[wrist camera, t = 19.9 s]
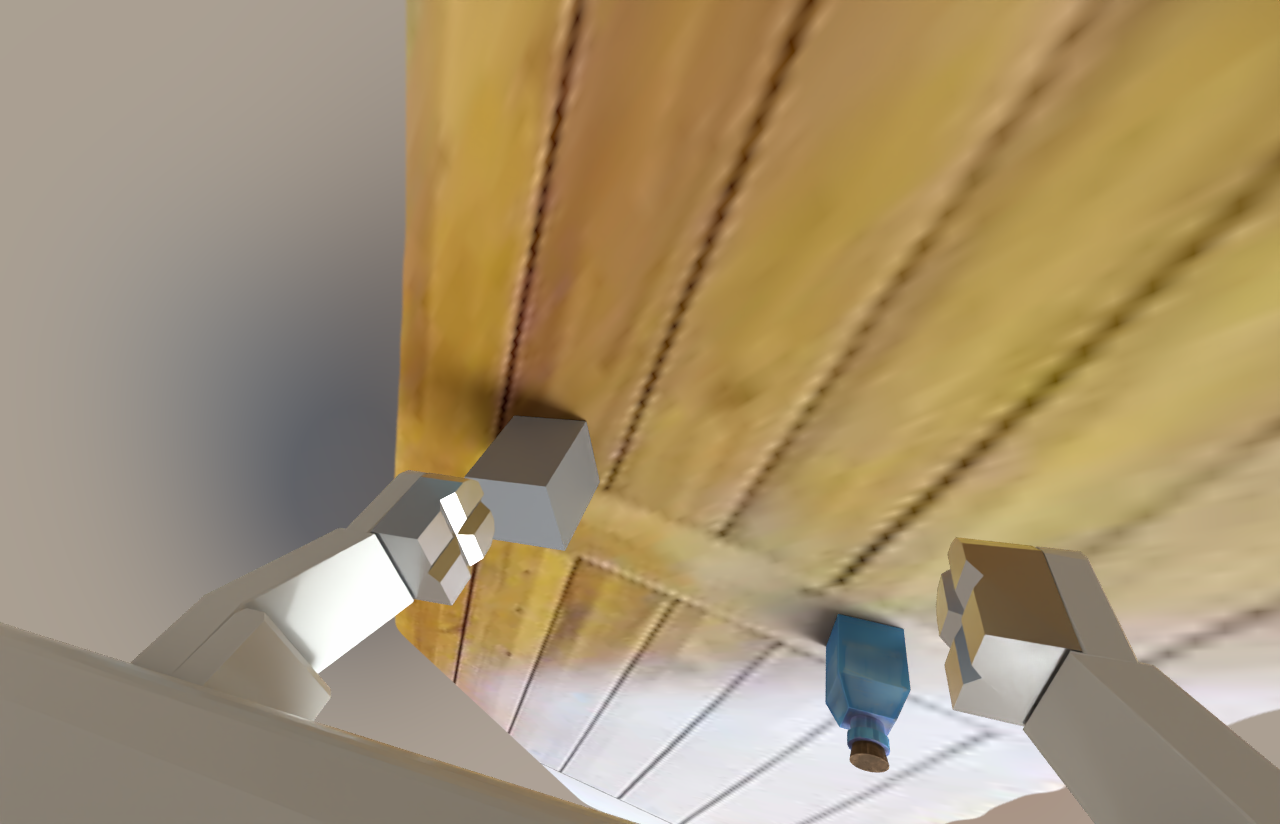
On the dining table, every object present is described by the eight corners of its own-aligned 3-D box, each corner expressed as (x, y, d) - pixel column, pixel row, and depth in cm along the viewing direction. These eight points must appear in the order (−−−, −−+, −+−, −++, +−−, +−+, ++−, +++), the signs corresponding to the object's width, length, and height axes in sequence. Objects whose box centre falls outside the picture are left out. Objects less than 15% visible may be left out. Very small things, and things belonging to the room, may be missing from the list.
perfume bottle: (838, 613, 54) (839, 736, 44) (903, 628, 52) (918, 759, 43) (826, 646, 57) (824, 766, 48) (886, 661, 56) (897, 788, 47)
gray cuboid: (586, 421, 48) (545, 486, 41) (599, 482, 52) (564, 550, 46) (514, 415, 50) (464, 476, 44) (532, 474, 55) (490, 538, 48)
